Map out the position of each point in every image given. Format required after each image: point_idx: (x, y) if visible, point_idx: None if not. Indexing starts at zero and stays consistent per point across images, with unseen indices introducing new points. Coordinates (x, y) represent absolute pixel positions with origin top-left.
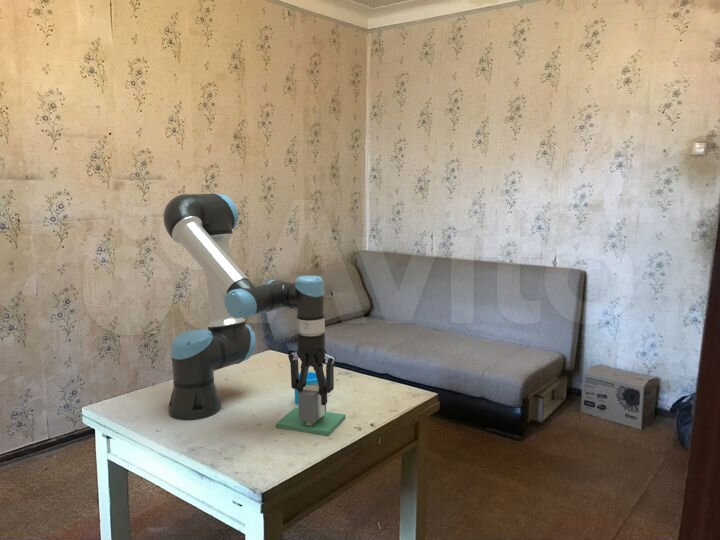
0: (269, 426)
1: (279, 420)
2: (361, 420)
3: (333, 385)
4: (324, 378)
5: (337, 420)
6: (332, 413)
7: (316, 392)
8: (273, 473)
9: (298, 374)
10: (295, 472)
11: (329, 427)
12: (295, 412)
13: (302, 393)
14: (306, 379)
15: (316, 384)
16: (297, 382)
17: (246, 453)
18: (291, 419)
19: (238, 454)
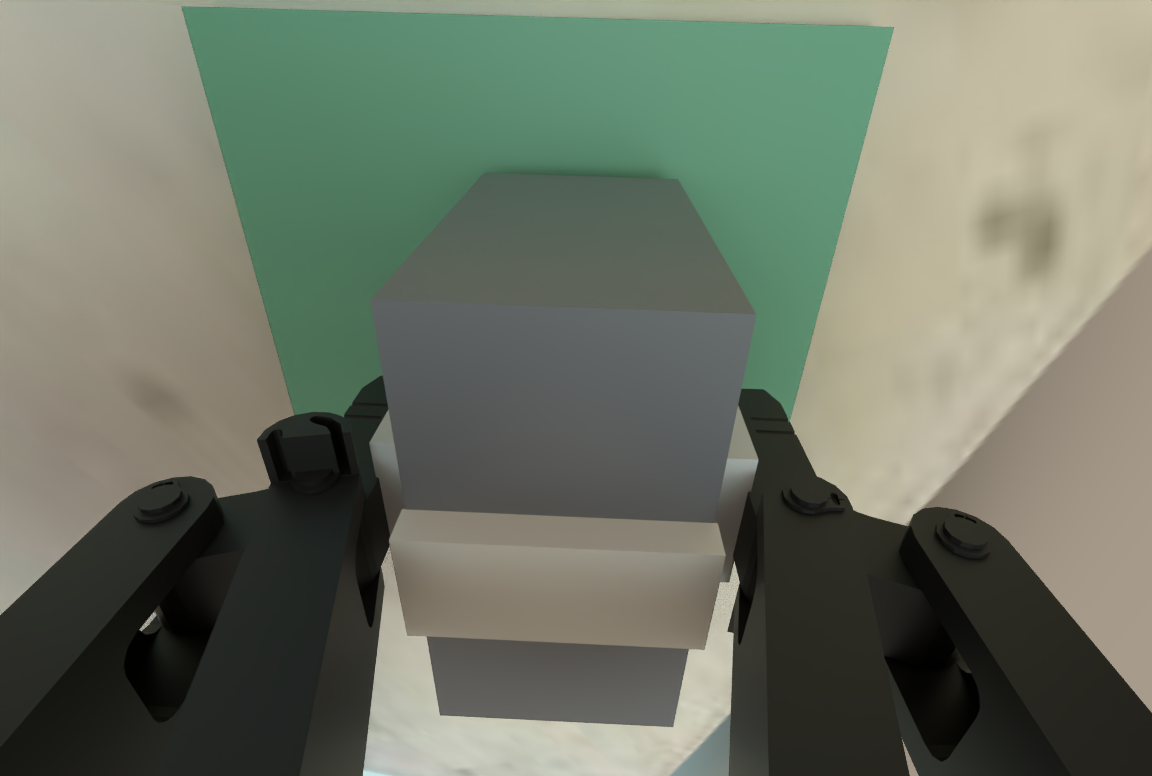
0: (258, 412)
1: (288, 383)
2: (1079, 17)
3: (1048, 606)
4: (890, 771)
5: (818, 230)
6: (719, 52)
7: (685, 650)
8: (611, 756)
9: (23, 735)
10: (700, 739)
11: (770, 390)
12: (295, 171)
13: (497, 708)
14: (329, 619)
15: (517, 331)
16: (167, 566)
17: (392, 679)
18: (370, 338)
19: None
